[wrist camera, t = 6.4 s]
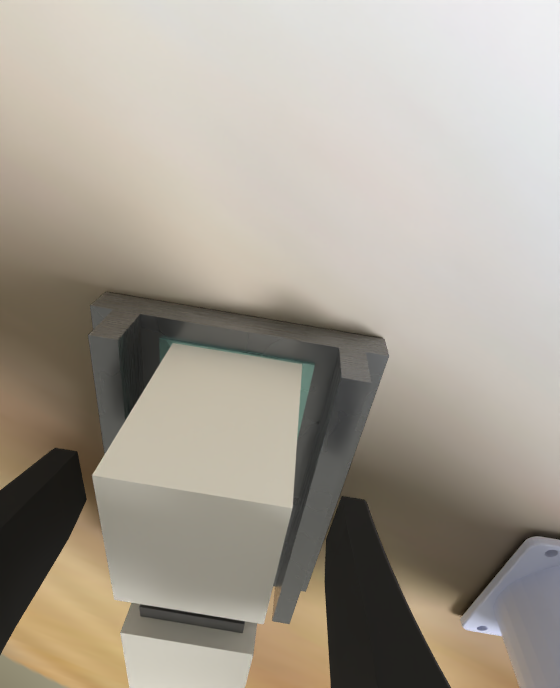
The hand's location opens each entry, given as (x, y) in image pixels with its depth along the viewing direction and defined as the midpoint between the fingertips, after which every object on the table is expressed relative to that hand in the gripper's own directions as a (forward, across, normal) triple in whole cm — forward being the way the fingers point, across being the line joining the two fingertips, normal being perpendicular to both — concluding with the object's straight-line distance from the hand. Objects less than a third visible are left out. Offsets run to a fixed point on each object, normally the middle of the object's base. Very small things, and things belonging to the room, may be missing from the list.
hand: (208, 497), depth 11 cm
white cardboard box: (+3, 0, 0) cm, 3 cm away
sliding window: (+4, 0, +4) cm, 5 cm away
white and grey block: (+3, 0, +7) cm, 8 cm away
